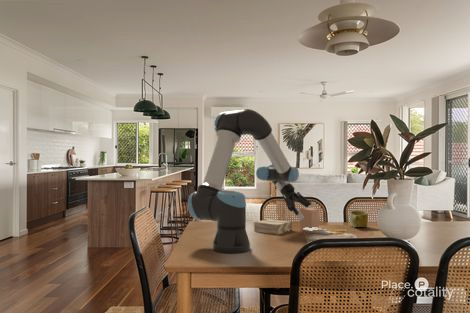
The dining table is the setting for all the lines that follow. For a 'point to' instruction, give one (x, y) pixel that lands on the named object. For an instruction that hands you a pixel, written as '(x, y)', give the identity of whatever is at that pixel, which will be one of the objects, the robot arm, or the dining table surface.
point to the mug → (358, 219)
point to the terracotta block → (309, 218)
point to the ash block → (273, 226)
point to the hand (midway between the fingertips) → (309, 217)
